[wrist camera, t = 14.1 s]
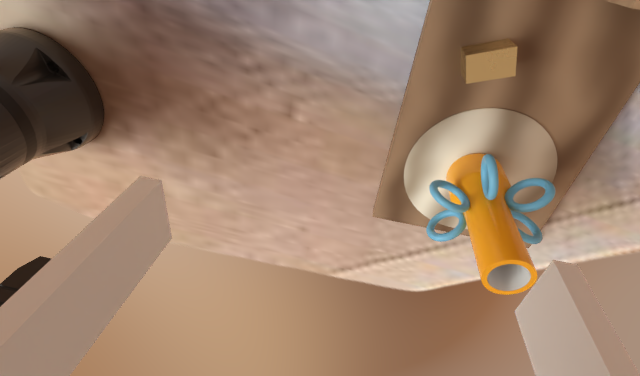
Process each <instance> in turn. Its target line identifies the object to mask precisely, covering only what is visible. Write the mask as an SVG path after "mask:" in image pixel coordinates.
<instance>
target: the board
mask: <svg viewBox="0 0 640 376" xmlns="http://www.w3.org/2000/svg"><path fill="white" fill-rule="evenodd" d="M507 38H508V39H509V40H511V41H512V42H513V43H514V44H515V45H516V46H518V47H517V61H516V75H515V76H513V77H506V78H500V79H494V80H487V81H481V82H475V83H469V84H466V83H465V81H464V79H463V77H462V75H461V47H464V46H469V45H475V44H480V43H485V42H491V41H496V40H502V39H507ZM639 83H640V0H430V2H429V6H428V10H427V14H426V17H425V21H424V25H423V28H422V32H421V36H420V39H419V43H418V47H417V50H416V54H415V58H414V61H413V65H412V69H411V72H410V76H409V80H408V84H407V87H406V91H405V95H404V98H403V102H402V106H401V109H400V113H399V117H398V120H397V124H396V128H395V131H394V135H393V139H392V142H391V146H390V150H389V153H388V157H387V161H386V165H385V168H384V172H383V176H382V179H381V183H380V187H379V190H378V194H377V198H376V201H375V205H374V209H373V217H377V218H382V219H387V220H392V221H397V222H401V223H406V224H411V225H416V226H421V227H426V228H427V225H428V223H429V221H430V220H431V219H432V218H433V217H434V216H435V215H436V214H438V213H439V212H442V211H444V210H448V209H446V208H444V207H443V206H441V205H440V204H439V203H438V202H437V201H436V200H435V199H434V198H433V197H432V195H431V193H430V190H429V186H430V184H431V183H432V182H433V181H435V180H444V181H446V175H447V172H448V169H449V168H450V166H451V165H452V164H453V163H454V162H455V161H456V160H457V159H459V158H461V157H462V156H465V155H468V154H473V153H482V154H491V155H492V156H493V157H494V158H495V159H497V160H498V161H499V163H500V164H501V166H502V168H503V170H504V172H505V174H506V176H507V178H508V180H509V182H510V184H511V186H513V185H514V184H516V183H517V182H519V181H522V180H525V179H529V178H543V179H546V180H548V181H550V182H551V183H552V184H553V185H554V187H555V196H554V198H553V199H552V201H551V202H550V203H549V204H547V205H546V206H545V207H543V208H541V209H538V210H536V211H532V212H520V213H522V214H524V215H525V216H527V217H528V218H530V219H531V220H532V221H533V222H534V223H535V224H536V225H537V226H538V228H539V229H540V231H541V229H542V228H543V226H544V225H545V223H546V222H547V220H548V219H549V217H550V216H551V214H552V213H553V211H554V210H555V208H556V207H557V205H558V204H559V202H560V201H561V199H562V198H563V196H564V195H565V193H566V192H567V190H568V189H569V187H570V186H571V184H572V183H573V181H574V180H575V178H576V177H577V175H578V174H579V172H580V171H581V169H582V168H583V166H584V165H585V163H586V162H587V160H588V159H589V157H590V156H591V154H592V153H593V151H594V150H595V148H596V147H597V145H598V144H599V142H600V141H601V139H602V138H603V136H604V135H605V133H606V132H607V131H608V129H609V128H610V126H611V125H612V123H613V122H614V120H615V119H616V117H617V116H618V114H619V113H620V111H621V110H622V108H623V107H624V105H625V104H626V102H627V101H628V99H629V98H630V96H631V95H632V93H633V92H634V90H635V89H636V87H637V86H638V84H639ZM438 191H439V192H440V193H441V195H442V196H443V197H445V198H446V199H447V200H449V201H450V197H449V192H448V190H447V189H444V188H440V187H438ZM544 193H545V189H544V188H543V187H540V186H530V187H526V188H524V189H521V190H520V191H518V192H517V193H516V194H515V195H514V197H513V200H514V202H516V203H519V204H527V203H532V202H534V201H537V200H538V199H540V198H541V197H542V196H543V195H544ZM510 210H511V209H510ZM514 221H515V223H516V225H517V228H519V229H520V230H521V231H523V232H524V233H526V234H528V235H531V236H533V234H532V232H531V231H530V229H529V228H528V227H527V226H526V225H525V224H523V223H522V222H520V221H519V220H517V219H515V218H514ZM458 223H459V219H458V218H457V217H455V216H450V217H446V218H444V219H442V220H440V221H439V222H438V223H437V224H436V226H435V228H434V229H436V230H441V231H446V232H449V231H451V230H453V229H454V228H455V227H456V226H457V225H458ZM461 235H466V236H470V235H469V231H468V228H467V225H466V228H465V229H464V231H463V232H462V233H461ZM523 242H524V241H523ZM524 244H525V246H526V248H529V247H530V246H531V244H530V243H526V242H524Z"/></svg>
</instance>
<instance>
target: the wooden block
mask: <svg viewBox="0 0 640 376" xmlns="http://www.w3.org/2000/svg"><path fill="white" fill-rule="evenodd" d="M517 47H518V46H516V45H515V44H514V43H513V42H512V41H511V40H509V39H508V38H507V39H502V40H496V41H491V42H485V43H480V44H475V45H469V46H464V47H461V75H462V77H463V79H464V81H465V83H466V84H469V83H475V82H481V81H487V80H494V79H500V78H506V77H513V76H515V75H516V61H517Z"/></svg>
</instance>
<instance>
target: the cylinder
mask: <svg viewBox="0 0 640 376" xmlns="http://www.w3.org/2000/svg"><path fill="white" fill-rule="evenodd" d="M530 186H540V187H543V188H544V189H545V193H544V195H543V196H542V197H541V198H540V199H538V200H537V201H534V202H532V203H527V204H519V203H516V202H514V200H513V197H514V195H515V194H516V193H517V192H518V191H520V190H521V189H524V188H526V187H530ZM438 187H440V188H444V189H447V190H448V192H449V197H450V201H449V200H447V199H446V198H445V197H443V196H442V195H441V193H440V192H439V191H438ZM429 190H430V193H431V195H432V197H433V198H434V199H435V200H436V201H437V202H438V203H439V204H440V205H441V206H443V207H444V208H446V209H448V210H444V211H442V212H439V213H438V214H436V215H435V216H434V217H433V218H432V219H431V220H430V221H429V223H428V225H427V234H428V236H429V237H430V238H431V239H433V240H435V241H440V242H442V241H448V240H451V239H454V238H455V237H457V236H458V235H460V234H461V233H462V232H463V231H464V229H465V228H466V225H467V228H468V231H469V235H470V239H471V243H472V247H473V250H474V254H475V258H476V262H477V266H478V270H479V273H480V277H481V281H482V284H483V285H484V286H485V288H486V289H488V290H489V291H491V292H494V293H497V294H505V295H506V294H507V295H508V294H516V293H520V292H523V291H525V290H527V289H529V288H530V287H531V286H533V284H534V283H535V282H536V280H537V272H536V269H535V267H534V265H533V262H532V260H531V258H530V255H529V253H528V251H527V249H526V246H525V244H524V242H526V243H530V244H537V243H539V242H541V240H542V233H541V231H540V229H539V228H538V226H537V225H536V224H535V223H534V222H533V221H532V220H531V219H530V218H528V217H527V216H525V215H524V214H522V213H520V212H532V211H536V210H538V209H541V208H543V207H545V206H546V205H547V204H549V203H550V202H551V201H552V199H553V198H554V196H555V187H554V185H553V184H552V183H551V182H550V181H548V180H546V179H543V178H529V179H525V180H522V181H519V182H517V183H516V184H514V185H513V186H511V184H510V182H509V180H508V178H507V176H506V174H505V172H504V170H503V168H502V166H501V164H500V163H499V161H498V160H497V159H495V158H494V157H493V156H492V155H491V154H482V153H473V154H468V155H465V156H462V157H461V158H459V159H457V160H456V161H455V162H454V163H453V164H452V165H451V166H450V168H449V169H448V172H447V175H446V181H444V180H435V181H433V182H432V183H431V184H430V186H429ZM510 209H511V210H510ZM450 216H455V217H457V218H458V219H459V223H458V225H457V226H456V227H455V228H454V229H453V230H451V231H449V232H447V233H444V234H438V233H436V232H435V231H434V228H435V226H436V224H437V223H438V222H439V221H440V220H442V219H444V218H446V217H450ZM514 218H515V219H517V220H519V221H520V222H522V223H523V224H525V225H526V226H527V227H528V228H529V229H530V231H531V232H532V234H533V236H531V235H528V234H526V233H524V232H523V231H521V230H520V229H519V228H517V225H516V223H515V221H514ZM523 241H524V242H523Z"/></svg>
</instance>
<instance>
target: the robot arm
mask: <svg viewBox="0 0 640 376" xmlns="http://www.w3.org/2000/svg"><path fill="white" fill-rule="evenodd" d="M103 119H104V112H103V105H102V101H101V98H100V95H99V92H98V90H97V88H96V86H95V84H94V82H93V80H92V79H91V77H90V76H89V74H88V73H87V71H86V70H85V69H84V67H83V66H82V65H81V64H80V63H79V62H78V60H77V59H76V58H75V57H74V56H73V55H72V54H70V53H69V52H68V51H67V50H66V49H65V48H63V47H62V46H61V45H59V44H58V43H57V42H55V41H53V40H52V39H50V38H48V37H47V36H45V35H43V34H40V33H38V32H35V31H32V30H29V29H24V28H7V29H3V30H0V179H1V178H3V177H4V176H6V175H7V174H9V173H10V172H12V171H14V170H16V169H17V168H19V167H20V166H22V165H24V164H25V163H27V162H29V161H30V160H32V159H35V158H40V157H44V156H49V155H53V154H58V153H62V152H67V151H71V150H75V149H77V148H80V147H82V146H83V145H85V144H86V143H88V142H89V141H91V140H92V139H94V138H95V137H96V136H97V135H98V134H99V132H100V130H101V128H102V125H103ZM171 239H172V235H171V230H170V224H169V219H168V213H167V208H166V202H165V197H164V191H163V186H162V180H157V179H153V178H148V177H143V176H140V177H139V178H138V179H137V180H136V181H135V182H134V183H132V184H131V185H130V186H129V187H128V188H127V189H126V190H125V191H124V192H123V193H122V194H121V195H120V196H119V197H117V198H116V199H115V200H114V201H113V202H112V203H111V204H110V205H109V206H108V207H107V208H106V209H105V210H104V211H102V212H101V213H100V214H99V215H98V216H97V217H96V218H95V219H94V220H93V221H92V222H91V223H90V224H89V225H87V226H86V227H85V228H84V229H83V230H82V231H81V232H80V233H79V234H78V235H77V236H76V237H75V238H74V239H72V240H71V241H70V242H69V243H68V244H67V245H66V246H65V247H64V248H63V249H62V250H61V251H60V252H59V253H58V254H56V255H55V256H54V257H53V258H52V259H50V258H46V257H41V256H40V257H38V258H36V259H34V260H33V261H31V262H29V263H27V264H25V265H23V266H21V267H20V268H18V269H17V270H16V271H14V272H13V273H12V274H11V275H10V276H9V277H8V278H6V279H5V280H4V281H3V282H2V283H1V284H0V376H70V374H71V373H72V372H73V370H74V369H75V368H76V366H77V365H78V364H79V362H80V361H81V360H82V358H83V357H84V356H85V354H86V353H87V352H88V350H89V349H90V347H91V346H92V345H93V343H94V342H95V341H96V339H97V338H98V337H99V335H100V334H101V333H102V331H103V330H104V329H105V327H106V326H107V324H108V323H109V322H110V320H111V319H112V318H113V317H114V315H115V314H116V313H117V311H118V310H119V308H120V307H121V306H122V304H123V303H124V302H125V300H126V299H127V298H128V296H129V295H130V294H131V292H132V291H133V290H134V288H135V287H136V286H137V284H138V283H139V282H140V280H141V279H142V278H143V276H144V275H145V274H146V272H147V271H148V269H149V268H150V267H151V265H152V264H153V263H154V261H155V260H156V259H157V257H158V256H159V255H160V253H161V252H162V251H163V249H164V248H165V247H166V245H167V244H168V243H169V241H170V240H171ZM515 314H516V317H517V320H518V323H519V326H520V330H521V332H522V336H523V339H524V342H525V345H526V347H527V351H528V354H529V357H530V360H531V363H532V366H533V369H534V372H535V376H640V374H639V372H638V370H637V368H636V367H635V365H634V363H633V362H632V360H631V358H630V356H629V354H628V353H627V351H626V349H625V347H624V346H623V344H622V342H621V340H620V338H619V337H618V335H617V334H616V331H615V330H614V328H613V326H612V324H611V323H610V321H609V319H608V317H607V316H606V314H605V312H604V310H603V308H602V307H601V305H600V303H599V301H598V300H597V298H596V296H595V294H594V293H593V291H592V289H591V287H590V286H589V284H588V282H587V280H586V278H585V277H584V275H583V273H582V271H581V270H580V268H579V266H578V265H576V264H571V263H566V262H561V261H556V260H553V261H552V262H551V263H550V265H549V266H548V267H547V269H546V270H545V271H544V273H543V274H542V275H541V277H540V278H539V280H538V281H537V282H536V283H535V285H534V286H533V288H532V289H531V290H530V292H529V293H528V294H527V296H526V297H525V298H524V299H523V301H522V302H521V304H520V305H519V306H518V308H517V309H516V310H515Z"/></svg>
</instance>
